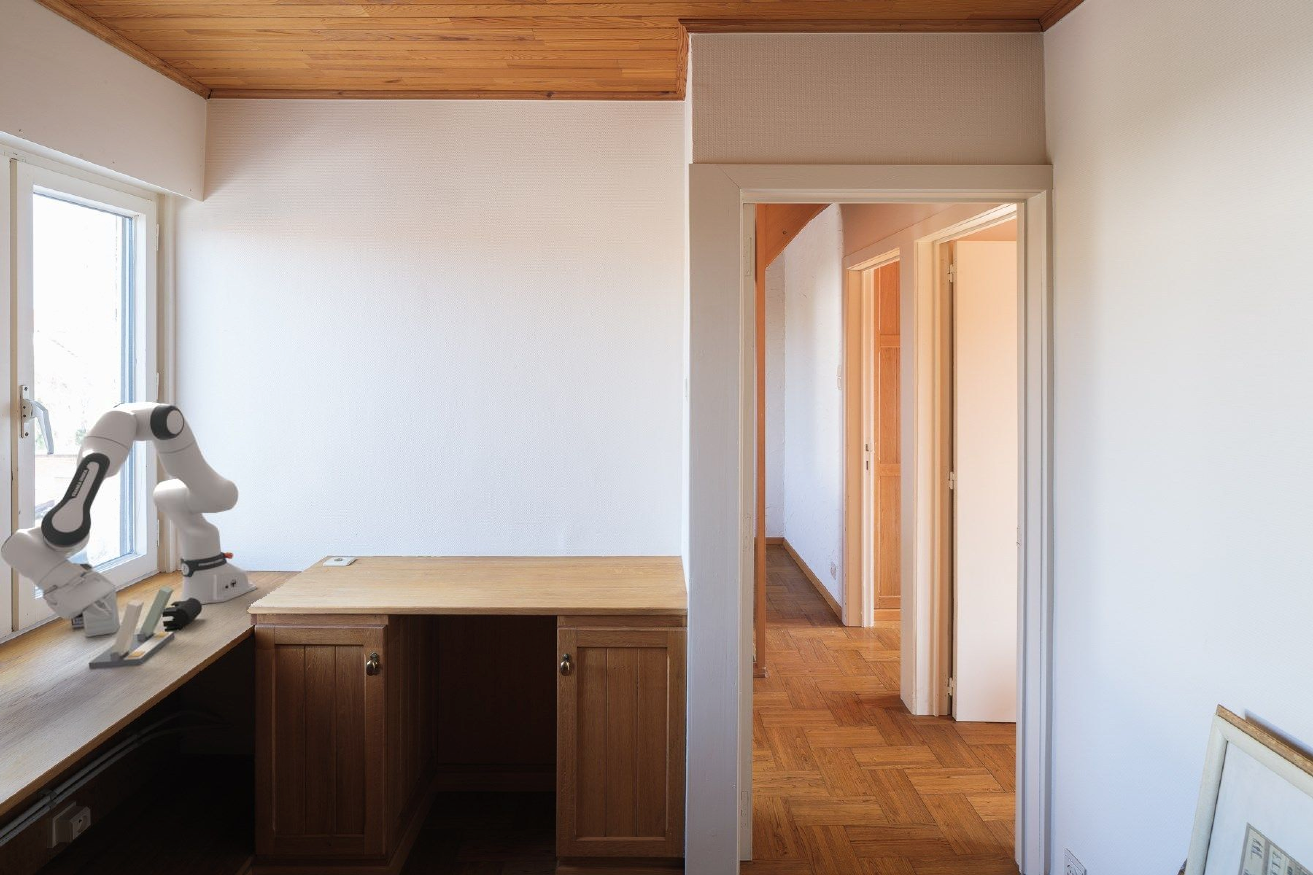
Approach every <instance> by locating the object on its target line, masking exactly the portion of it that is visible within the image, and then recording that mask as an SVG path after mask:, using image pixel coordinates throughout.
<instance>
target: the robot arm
mask: <svg viewBox="0 0 1313 875" xmlns="http://www.w3.org/2000/svg"><path fill="white" fill-rule="evenodd" d="M146 441H152V445H153V447H154V448H153V449H154V450H155V452H156V455H157V457H158V460H159V462H160V465H161V466H162V469H163V470H164V472H165V473H166V474H167V475H169V476H170V477H172V478H174V479H169V480H164V481H161V482H159V483H158V484H157V485H156V487H155V488H154V490H153V494H152V500H153V504H154V506H155V507H156V508H157V509H158V510H159V511H160V512H162V513H163V514H165V515H166V517H168V518H169V520H170V521H171V523H172V524H173V525H174V527H175V530H176V532H177V535H178V538H179V539H178V540H179V544H180V545H179V546H180V554H181V557H180V558H179V559H180V560H179V561H180V571H181V574H182V586H181V593H180V599H179V601H187V600H188V599H189V598H195V599H197V600H198V601H200V603H201V605H203V604H204V605H205V604H212V603H224V602H226V601H229V600H231V599H234V598H237V597H239V596H241V595H244V594H247V593H249V592H251V591H254V590H257V584H256V583H253V582H250V581H249V578H248V576H247V572H246V571H245V570H243V569H242V568H240V567H237V566H235V565H234V564H232V563H231V562H230V563H229V562H228V560H227V559H229V560H231V559H233V557H234V554H233V552H229V551H228V552H223V551H222V549H221V540H220V539H221V536H220V530H219V529H218V527H217V526H215V524H212V523H211V522H209V521H208V520H207V519H206V518H205V517H204V514H217V513H221V512H226V511H230V510H232V509H233V508H234V507H235V506H236V504H237V503H238V501H239V500H238V499H239V490H238V487H237V486H236V484H235V483H234V482H233V481H231V480H229V479H227V478H225V477H223V476H222V475H221V474H219V473H218V472H217V471H216V470H215V469H213V467H212V466H211V465H210V464H209V463H207V461H206V460H205V458H204V456H203V454H202V452H201V450H200V448H199V445H198V442H197V439H196V437H195V435H194V433H193V430H192V428H191V427H190V424H189V422H188V421H187V420H186V418H185V416H184V415H183V413H182V411H181V410H180V409H179V408H178V407H177V406H175V405H173V404H169V403H156V402H143V401H142V402H133V403H132V402H131V403H117V404H112V405H110V406H108V407H106V409H104V410H102V411H101V412H100V413H99V415H98V416H96V418H95V420H94V421H93V422H92V424H91V425H90V427H89V428H88V431H87V432H86V434H85V436H84V438H83V441H82V443H81V446H80V448H79V451H78V454H77V458H76V470H75V473H74V475H73V477H72V479H71V481H70V483H69V485H68V487H67V489H66V492H65V493H64V495H63V497H62V499H61V500H59V502H58V503H57V504H56V505H55V506H53V507H52V508H51V509H50V510H49V511H47V512H46V514H44V517H43V518H42V520H41V524H40V525H38V526H35V527H30V528H20V529H17V530H16V531H14V532H13V533H11V534H10V535H9V537H7V539H6V540H5V541H4V543H3V545H2V546H1V549H0V555H1V558H2V559H3V561H4V562H5V563H6V564H8V566H10V568H12V569H13V570H14V571H15V572H17V573H18V574H19V575H20V576H22V577H24V578H27V579H28V580H30V581H32V583H33V584H34V585H35V586H36V587H37V588H38V589H39V590H40V591H42V599H44V600H45V602H46V605H47V606H48V607H49V609H51V610H52V611H53V612H54V613H55V614H57V615H58V616H59V618H61V619H63V620H65V621H70V620H71V619H73V618H74V617H76V616H78V615H79V614H81V613H83V612H84V611H87V612H88V613H90V614H93V615H96V616H99V617H100V618H101V619H106V618H107V617H109V616H110V615H111V614H112V613H113V610H112V609H110V608H109V607H108V605H107V603H106V601H105V599H106V598H108V597H109V596H110V595H111V594H112V593H113V592H114V591H115V590H117V589H116V588H117V587H116V585H115V586H114V584H115V583H113V581H111V580H109V578H108V577H106V576H105V575H104V574H102V573H100V572H99V571H97V570H94V569H95V567H94V566H93V565H92V564H90V563H89V562H84V563H83V562H82V563H77V562H71V561H70V560H69V558H71V557H73V556H75V555H76V554H78V553H79V552H81V551H83V550H84V548H86V547H87V545H88V543H89V541H90V537H91V536H90V534H91V527H92V516H91V509H92V505H93V504H94V501H95V499H96V497H97V495H98V493H99V490H100V488H101V486H102V484H103V482H104V481H105V480H106V479H107V478H108V479H109V478H111V477H114V476H116V475H117V474H118V473H119V472H120V470H121V469H122V468H123V466H124V465H125V463H126V461H127V459H128V457H129V455H130V452H131V450H132V447H133V444H134V442H146Z"/></svg>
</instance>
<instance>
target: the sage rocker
mask: <svg viewBox="0 0 1313 875" xmlns="http://www.w3.org/2000/svg"><path fill="white" fill-rule="evenodd" d="M174 590H175V589H174V587H173V588H172V587H170V586H167V585H164V586H163V587H161V588H160V589H159V590H158V593H157V594H156V597H155V598H154V601H153V603H152V604H151V606H150V609H149V610H148V613H147V615H146V618H145V620H144V622H143V623H142V626H141V628H140V629H139V632H138V633H145V637H146V636H147V637H148V636H149V635H151V634H152V633H153V632H154V633H155V630H156V628H157V626H158V624H159V622H160V620H161V617H162V613H163V611H164V609H165V608H167V607H166V606H167V604H168V603H169V600H170V598H171V596H172V594H173V592H174Z"/></svg>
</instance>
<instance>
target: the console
mask: <svg viewBox="0 0 1313 875" xmlns="http://www.w3.org/2000/svg"><path fill="white" fill-rule="evenodd" d="M174 638H175V631H165V632H155V631H154V632H153V633H152V634H151V635H149V636H148V637H147V636H146V637H145V633H139V632H138V633H136V634H135V633H134V635H133V638H132V641H131V645H130V648H129V651H127V652H126V653H125V654H123V655H122V656H119V653H118V652H113V649H114V646H115V643H114V644H113V645H112V646H110V647H109V648H107V649H106V650H105V651H103V652H102V653H101V654H99V655H98V656H96V657H95V658H93V659H92V660H90V661H89V662H88V669H91V670H92V669H101V668H102V669H104V668H116V667H117V668H118V667H119V668H120V667H132V666H140V665H142V664H144V662H146V661H147V660H149V658H151V657H152V656H153V655H154V654H155V653H157V652H158V651H159V650H161V649H162V648H163V647H165V645H166V644H168V643H169V642H171V640H173V639H174ZM112 652H113V653H112Z"/></svg>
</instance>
